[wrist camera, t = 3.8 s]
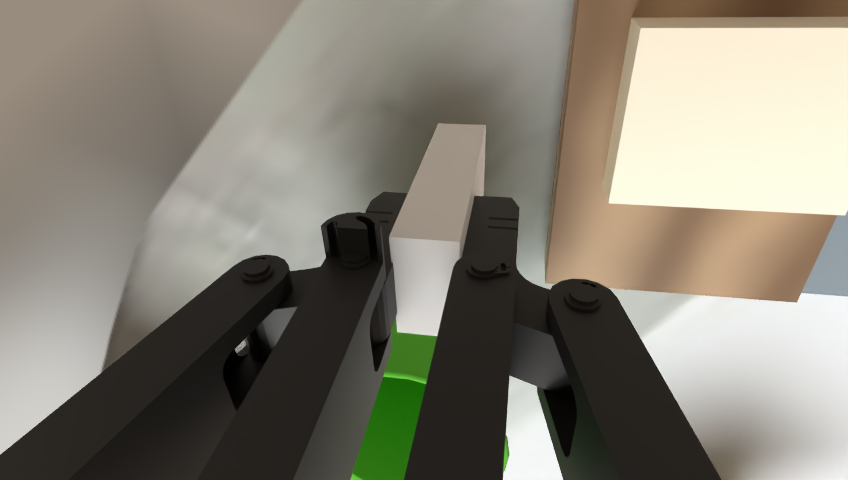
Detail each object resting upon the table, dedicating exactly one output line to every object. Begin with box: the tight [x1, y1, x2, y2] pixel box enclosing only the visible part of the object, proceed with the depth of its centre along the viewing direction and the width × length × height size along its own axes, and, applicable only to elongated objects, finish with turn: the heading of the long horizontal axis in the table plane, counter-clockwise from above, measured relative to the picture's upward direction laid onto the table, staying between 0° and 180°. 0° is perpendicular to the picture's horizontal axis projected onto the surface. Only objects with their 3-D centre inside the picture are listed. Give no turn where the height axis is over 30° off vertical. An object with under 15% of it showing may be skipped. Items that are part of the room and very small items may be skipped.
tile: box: [603, 17, 848, 215], centre depth 20 cm, size 9×7×2 cm
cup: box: [350, 318, 509, 480], centre depth 26 cm, size 9×9×11 cm
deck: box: [545, 0, 848, 302], centre depth 22 cm, size 12×19×2 cm, turn 2°
